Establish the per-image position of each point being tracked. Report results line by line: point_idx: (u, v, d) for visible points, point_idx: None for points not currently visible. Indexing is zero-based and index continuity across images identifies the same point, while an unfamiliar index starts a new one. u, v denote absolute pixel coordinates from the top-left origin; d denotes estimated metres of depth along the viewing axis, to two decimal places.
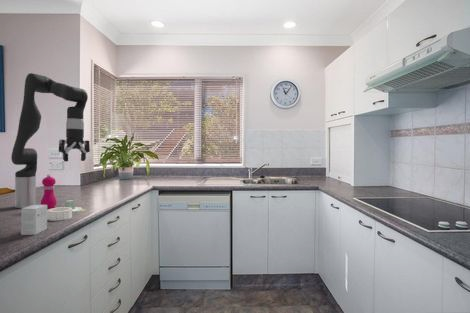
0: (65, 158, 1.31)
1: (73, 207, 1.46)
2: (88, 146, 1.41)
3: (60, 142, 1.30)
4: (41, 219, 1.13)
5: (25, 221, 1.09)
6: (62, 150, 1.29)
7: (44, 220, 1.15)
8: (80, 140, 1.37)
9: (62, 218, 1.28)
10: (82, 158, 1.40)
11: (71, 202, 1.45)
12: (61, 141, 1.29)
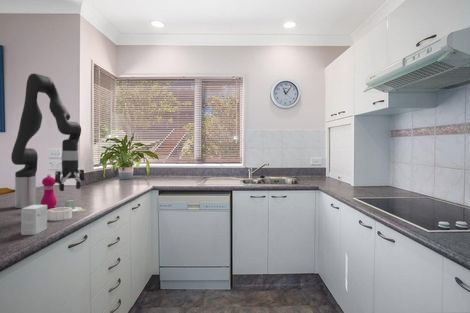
0: (61, 188, 1.41)
1: (73, 207, 1.46)
2: (83, 175, 1.50)
3: (56, 173, 1.39)
4: (41, 219, 1.13)
5: (25, 221, 1.09)
6: (58, 181, 1.39)
7: (44, 220, 1.15)
8: (75, 170, 1.47)
9: (62, 218, 1.28)
10: (77, 186, 1.49)
11: (71, 202, 1.45)
12: (57, 173, 1.39)
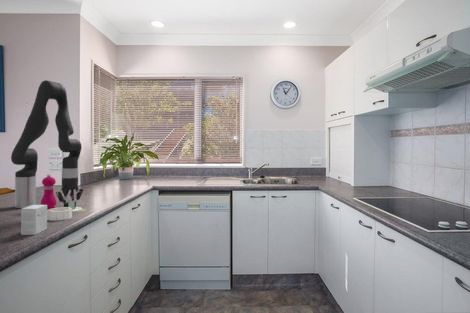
0: None
1: (73, 207, 1.46)
2: (80, 194, 1.50)
3: (57, 194, 1.40)
4: (41, 219, 1.13)
5: (25, 221, 1.09)
6: (63, 200, 1.41)
7: (44, 220, 1.15)
8: (75, 186, 1.47)
9: (62, 218, 1.28)
10: None
11: (71, 202, 1.45)
12: (58, 194, 1.40)
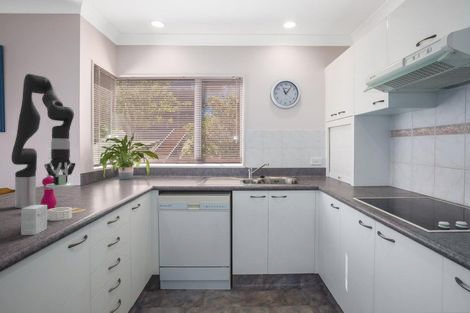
0: (55, 182, 1.29)
1: (64, 182, 1.31)
2: (72, 168, 1.35)
3: (46, 167, 1.25)
4: (41, 219, 1.13)
5: (25, 221, 1.09)
6: (52, 174, 1.27)
7: (44, 220, 1.15)
8: (67, 159, 1.33)
9: (62, 218, 1.28)
10: None
11: (62, 176, 1.30)
12: (46, 166, 1.25)
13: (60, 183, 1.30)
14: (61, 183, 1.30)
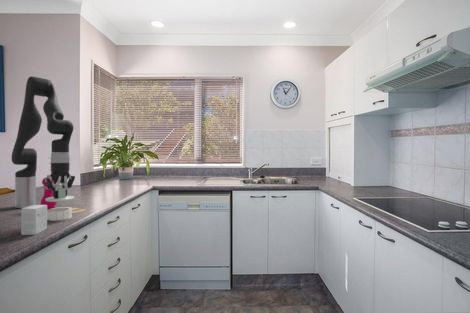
0: (55, 195, 1.29)
1: (64, 195, 1.31)
2: (72, 181, 1.35)
3: (46, 181, 1.26)
4: (41, 219, 1.13)
5: (25, 221, 1.09)
6: (52, 188, 1.27)
7: (44, 220, 1.15)
8: (66, 173, 1.33)
9: (62, 218, 1.28)
10: None
11: (61, 190, 1.30)
12: (46, 180, 1.25)
13: (60, 197, 1.30)
14: (61, 197, 1.30)
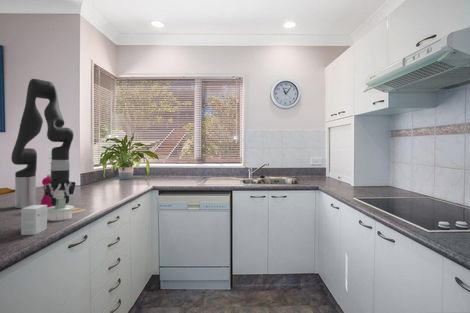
0: (53, 202, 1.28)
1: (64, 205, 1.32)
2: (73, 188, 1.36)
3: (45, 187, 1.25)
4: (41, 219, 1.13)
5: (25, 221, 1.09)
6: (49, 195, 1.26)
7: (44, 220, 1.15)
8: (66, 180, 1.33)
9: (62, 218, 1.28)
10: None
11: (61, 200, 1.30)
12: (45, 187, 1.25)
13: (60, 207, 1.30)
14: (61, 207, 1.30)
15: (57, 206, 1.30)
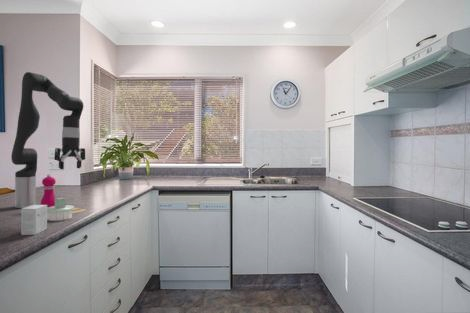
0: (61, 166, 1.35)
1: (64, 205, 1.32)
2: (84, 154, 1.44)
3: (56, 150, 1.33)
4: (41, 219, 1.13)
5: (25, 221, 1.09)
6: (58, 158, 1.33)
7: (44, 220, 1.15)
8: (76, 148, 1.40)
9: (62, 218, 1.28)
10: (77, 165, 1.43)
11: (61, 200, 1.30)
12: (57, 149, 1.33)
13: (60, 207, 1.30)
14: (61, 207, 1.30)
15: (57, 206, 1.30)
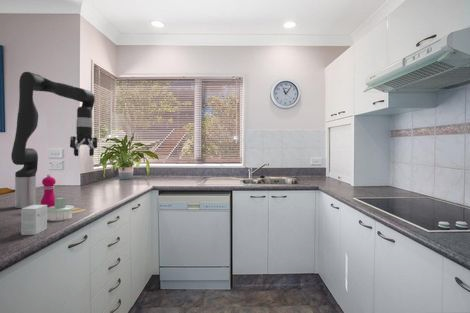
0: (76, 153, 1.46)
1: (64, 205, 1.32)
2: (96, 142, 1.56)
3: (71, 138, 1.44)
4: (41, 219, 1.13)
5: (25, 221, 1.09)
6: (73, 146, 1.44)
7: (44, 220, 1.15)
8: (89, 137, 1.52)
9: (62, 218, 1.28)
10: (90, 153, 1.54)
11: (61, 200, 1.30)
12: (72, 138, 1.44)
13: (60, 207, 1.30)
14: (61, 207, 1.30)
15: (57, 206, 1.30)
